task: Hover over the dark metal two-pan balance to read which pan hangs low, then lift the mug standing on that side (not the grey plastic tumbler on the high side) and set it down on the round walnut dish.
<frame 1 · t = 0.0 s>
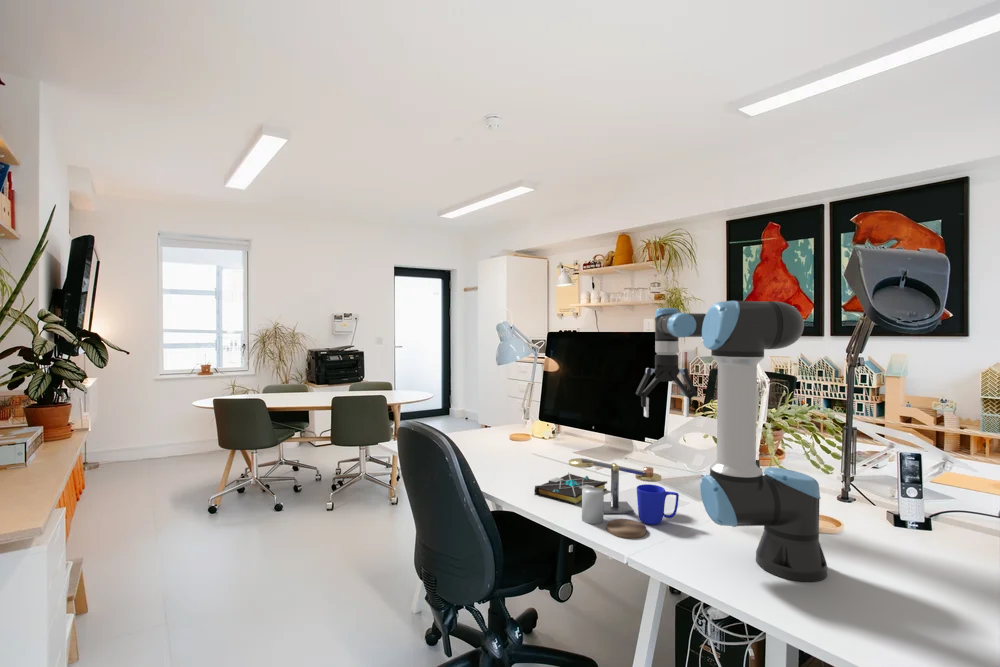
hand: (666, 416, 174), 28 cm above the table, fingers open, 13 cm apart
tumbler: (592, 520, 155), on the table
mug: (657, 522, 154), on the table
book: (571, 493, 181), on the table
balance: (614, 509, 164), on the table
dish: (626, 530, 147), on the table
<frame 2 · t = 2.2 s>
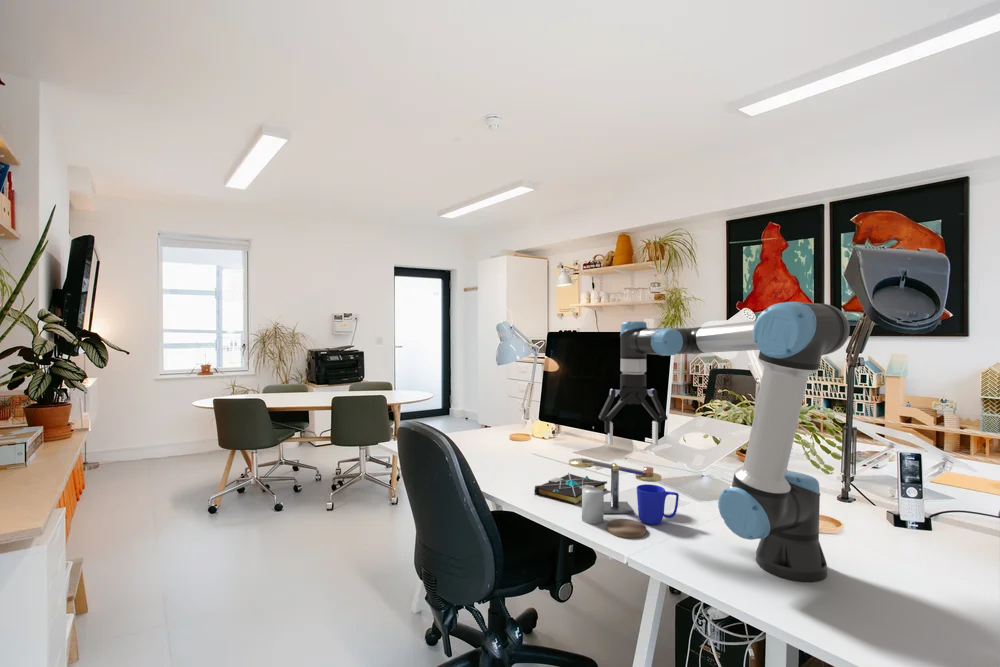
hand: (632, 443, 154), 23 cm above the table, fingers open, 13 cm apart
nothing on the table moved.
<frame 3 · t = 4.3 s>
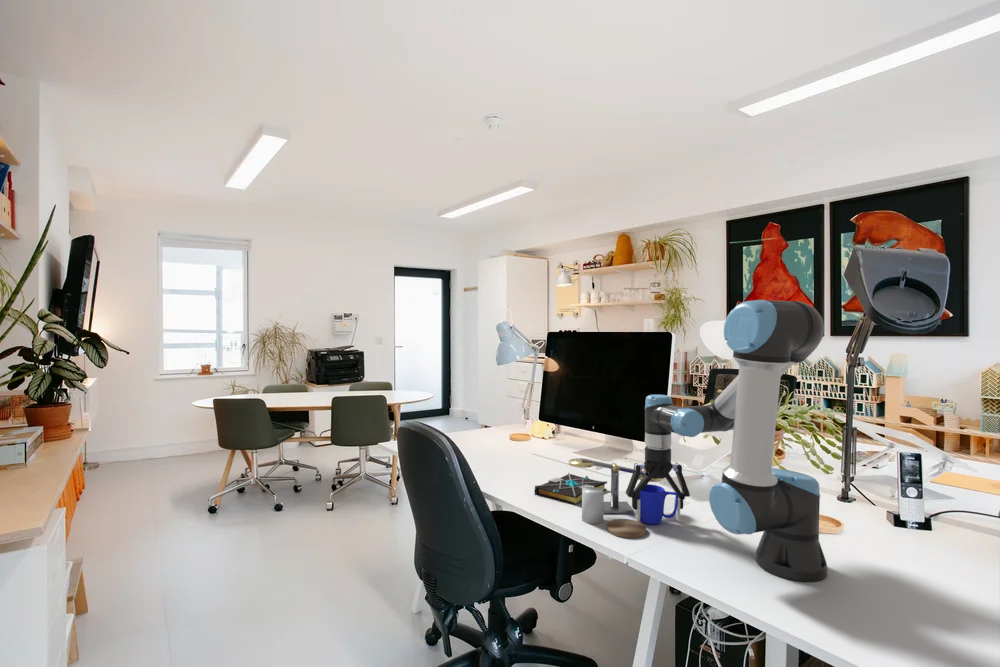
hand: (657, 519, 154), 1 cm above the table, fingers closed on mug, 11 cm apart
mug: (656, 522, 154), on the table, touching gripper
everything else where it was.
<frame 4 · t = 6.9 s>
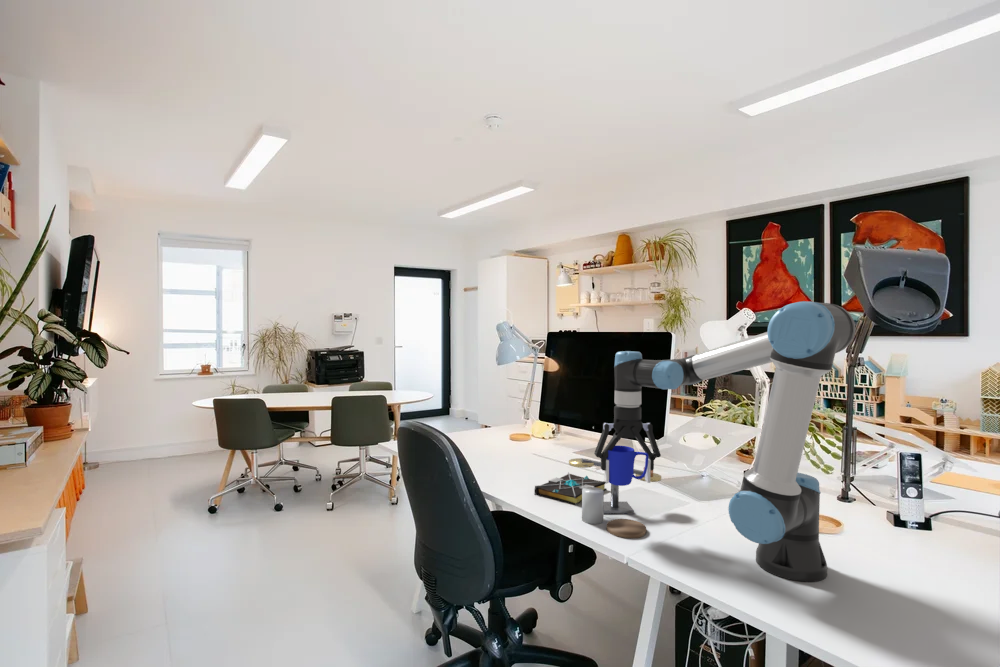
hand: (627, 481, 147), 14 cm above the table, fingers closed on mug, 11 cm apart
mug: (626, 484, 147), point 13 cm above the table, touching gripper
everything else where it was.
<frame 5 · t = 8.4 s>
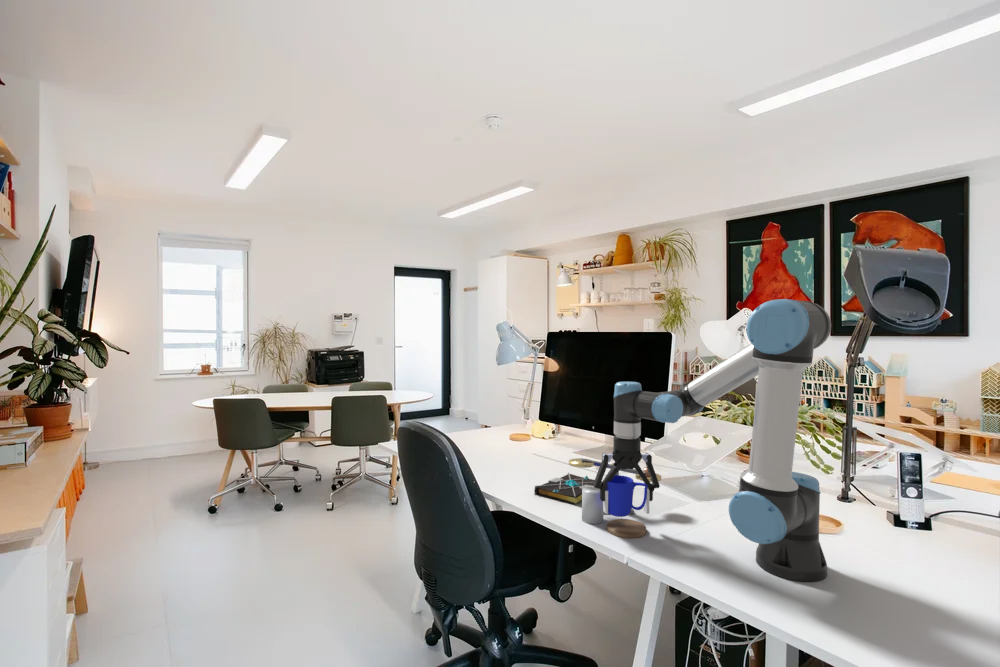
hand: (626, 512, 147), 5 cm above the table, fingers closed on mug, 11 cm apart
mug: (625, 514, 147), point 4 cm above the table, touching gripper
everything else where it was.
when the fingers open (3 cm above the table, at t = 9.5 s): mug drops 1 cm, resting on dish.
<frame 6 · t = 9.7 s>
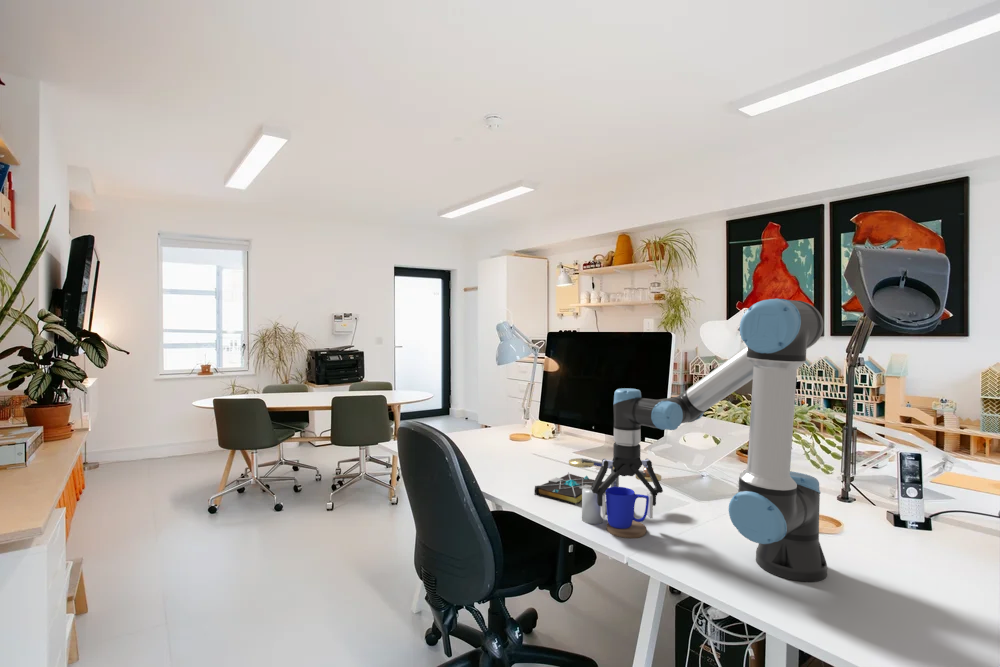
hand: (626, 516, 147), 4 cm above the table, fingers open, 13 cm apart
mug: (626, 526, 147), point 1 cm above the table, touching dish
everything else where it was.
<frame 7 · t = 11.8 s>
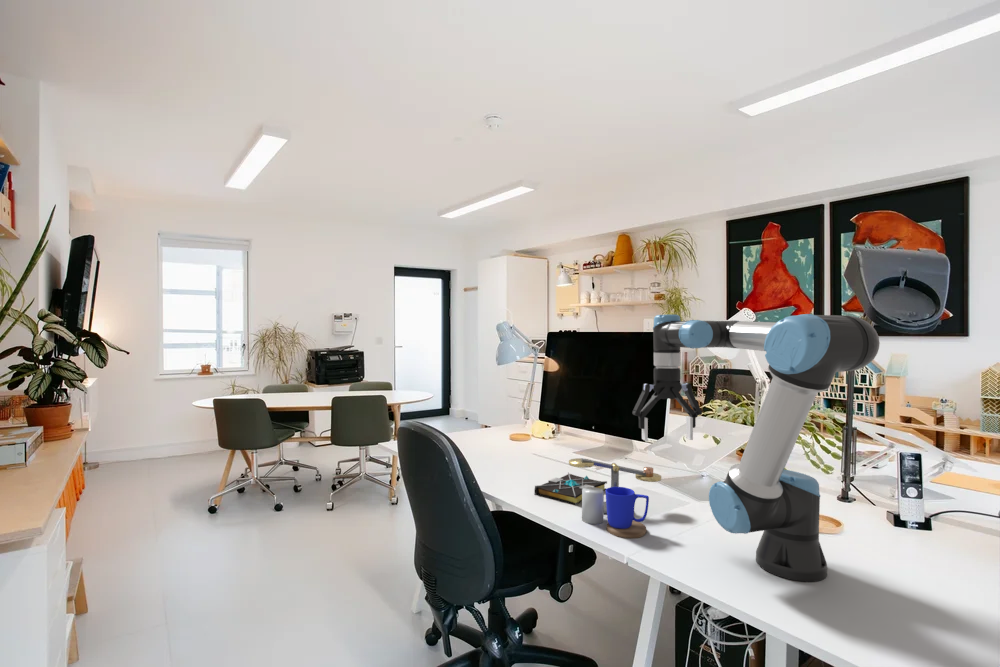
hand: (667, 439, 151), 25 cm above the table, fingers open, 13 cm apart
nothing on the table moved.
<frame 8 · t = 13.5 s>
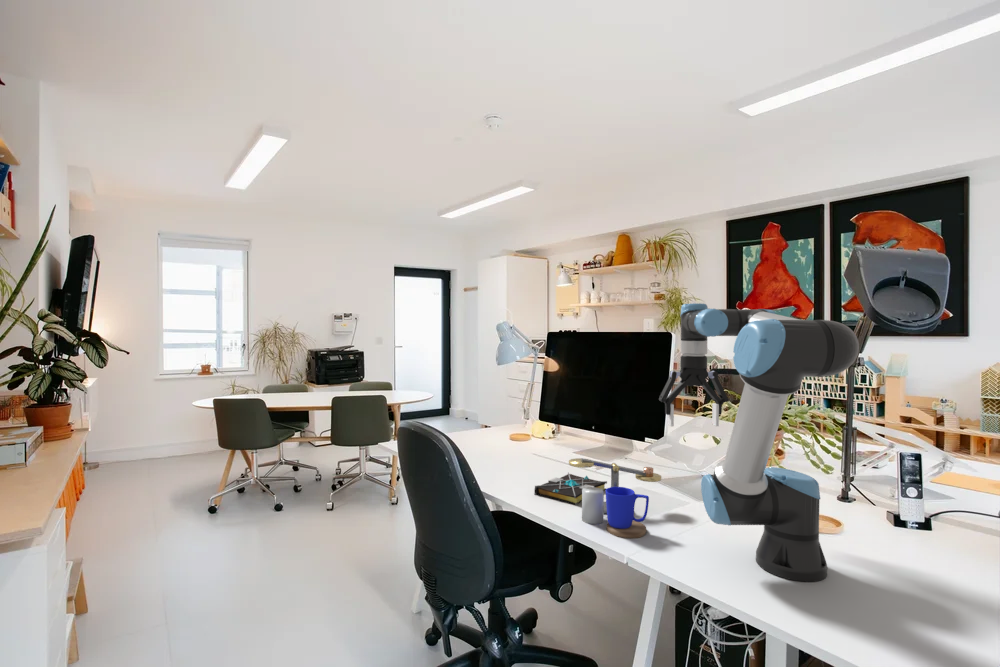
hand: (693, 425, 154), 29 cm above the table, fingers open, 13 cm apart
nothing on the table moved.
at the end: mug 0.1 cm from the dish (horizontally); mug touching dish; mug tilted 0° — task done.
